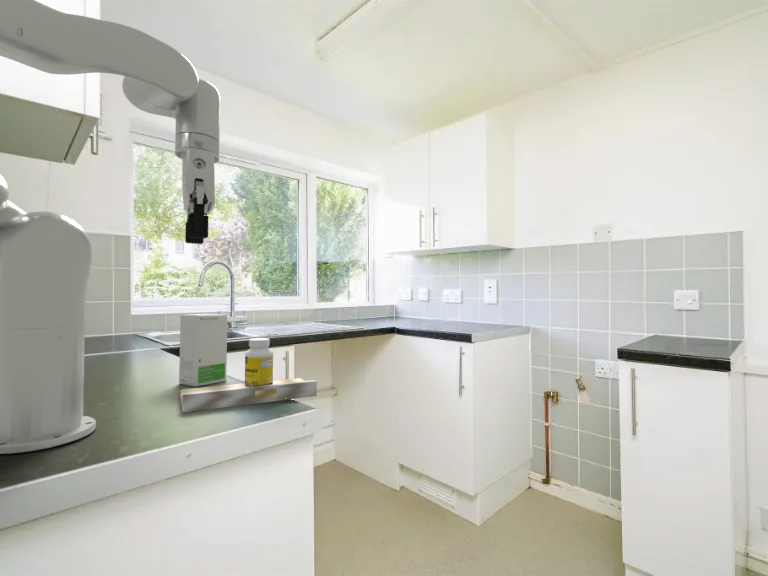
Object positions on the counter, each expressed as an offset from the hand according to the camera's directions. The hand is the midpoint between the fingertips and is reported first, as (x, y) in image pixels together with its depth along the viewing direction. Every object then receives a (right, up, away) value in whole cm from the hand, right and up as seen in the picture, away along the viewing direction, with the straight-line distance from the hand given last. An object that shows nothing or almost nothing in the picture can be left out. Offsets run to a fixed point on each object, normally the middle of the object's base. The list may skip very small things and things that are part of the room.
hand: (196, 240), depth 75 cm
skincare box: (-6, -31, +16) cm, 35 cm away
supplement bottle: (+10, -29, +5) cm, 31 cm away
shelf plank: (+8, -31, +5) cm, 32 cm away
